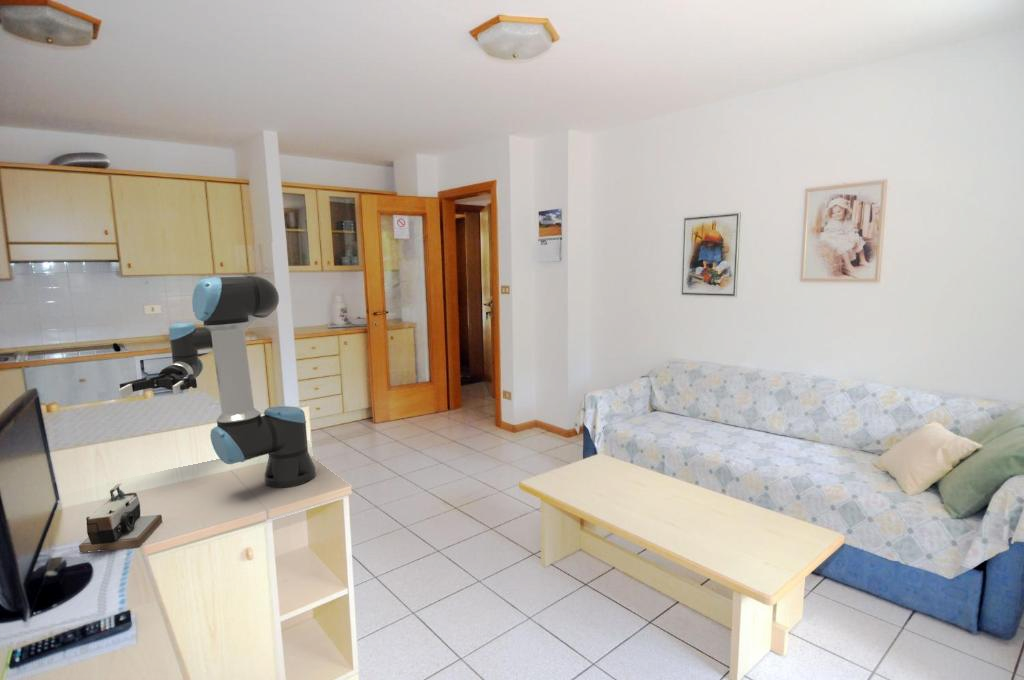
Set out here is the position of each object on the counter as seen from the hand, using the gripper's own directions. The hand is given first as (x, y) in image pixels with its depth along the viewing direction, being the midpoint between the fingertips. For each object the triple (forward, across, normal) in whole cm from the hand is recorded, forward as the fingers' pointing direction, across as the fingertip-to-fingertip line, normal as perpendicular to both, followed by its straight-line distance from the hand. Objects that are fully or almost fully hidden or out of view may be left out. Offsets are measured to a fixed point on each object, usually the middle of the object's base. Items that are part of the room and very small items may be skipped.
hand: (147, 392), depth 152 cm
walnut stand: (+19, +2, -33) cm, 38 cm away
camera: (+20, +2, -31) cm, 37 cm away
